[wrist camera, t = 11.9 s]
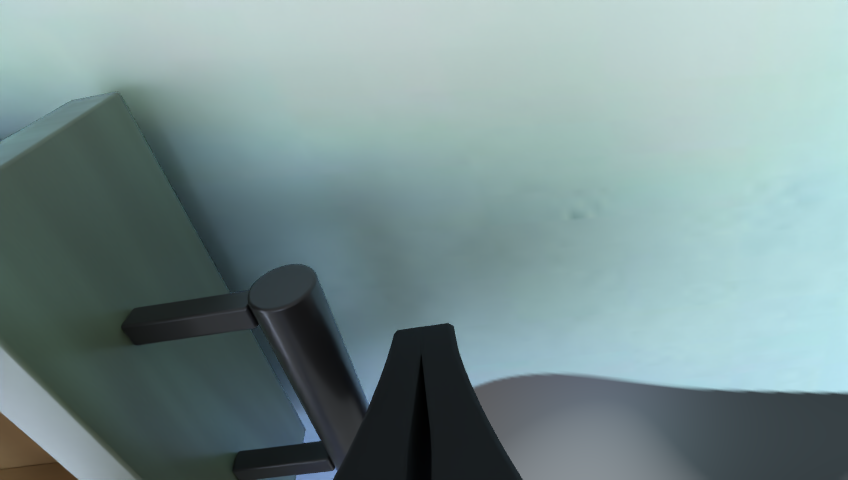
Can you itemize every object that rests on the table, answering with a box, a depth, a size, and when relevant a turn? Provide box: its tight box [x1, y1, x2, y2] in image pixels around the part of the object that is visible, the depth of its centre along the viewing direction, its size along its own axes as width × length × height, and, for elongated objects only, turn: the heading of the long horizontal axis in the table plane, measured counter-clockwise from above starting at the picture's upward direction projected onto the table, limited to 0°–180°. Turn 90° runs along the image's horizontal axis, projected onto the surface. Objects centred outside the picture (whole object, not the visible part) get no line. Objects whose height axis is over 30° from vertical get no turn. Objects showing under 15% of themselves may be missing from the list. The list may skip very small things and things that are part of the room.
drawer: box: [0, 92, 369, 480], centre depth 13 cm, size 18×13×6 cm
